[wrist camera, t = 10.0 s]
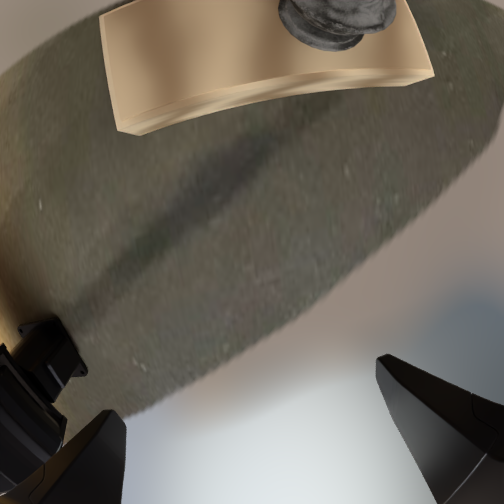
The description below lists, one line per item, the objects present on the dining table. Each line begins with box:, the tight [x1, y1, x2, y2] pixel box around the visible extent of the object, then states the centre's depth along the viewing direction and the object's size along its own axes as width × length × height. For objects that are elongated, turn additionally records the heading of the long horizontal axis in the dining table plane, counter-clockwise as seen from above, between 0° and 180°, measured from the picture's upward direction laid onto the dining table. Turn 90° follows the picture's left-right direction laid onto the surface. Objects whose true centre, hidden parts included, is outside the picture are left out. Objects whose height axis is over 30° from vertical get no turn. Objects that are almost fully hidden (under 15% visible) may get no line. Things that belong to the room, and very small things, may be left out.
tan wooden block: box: [99, 0, 435, 136], centre depth 14 cm, size 20×8×4 cm, turn 104°
